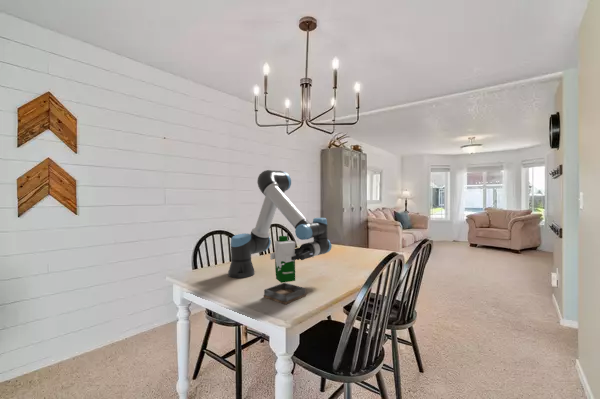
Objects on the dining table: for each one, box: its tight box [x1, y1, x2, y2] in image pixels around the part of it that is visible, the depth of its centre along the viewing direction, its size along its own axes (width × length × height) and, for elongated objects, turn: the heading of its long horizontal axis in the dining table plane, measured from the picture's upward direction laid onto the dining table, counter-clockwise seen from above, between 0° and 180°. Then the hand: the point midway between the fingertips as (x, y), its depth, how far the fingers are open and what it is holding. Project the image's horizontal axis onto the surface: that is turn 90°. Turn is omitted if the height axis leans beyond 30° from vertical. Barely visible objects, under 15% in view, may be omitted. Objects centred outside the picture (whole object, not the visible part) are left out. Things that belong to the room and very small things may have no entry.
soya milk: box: [274, 235, 296, 284], centre depth 137 cm, size 9×9×20 cm
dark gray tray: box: [263, 282, 307, 305], centre depth 138 cm, size 14×14×4 cm
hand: (278, 258), depth 133 cm, fingers closed on soya milk, 9 cm apart
